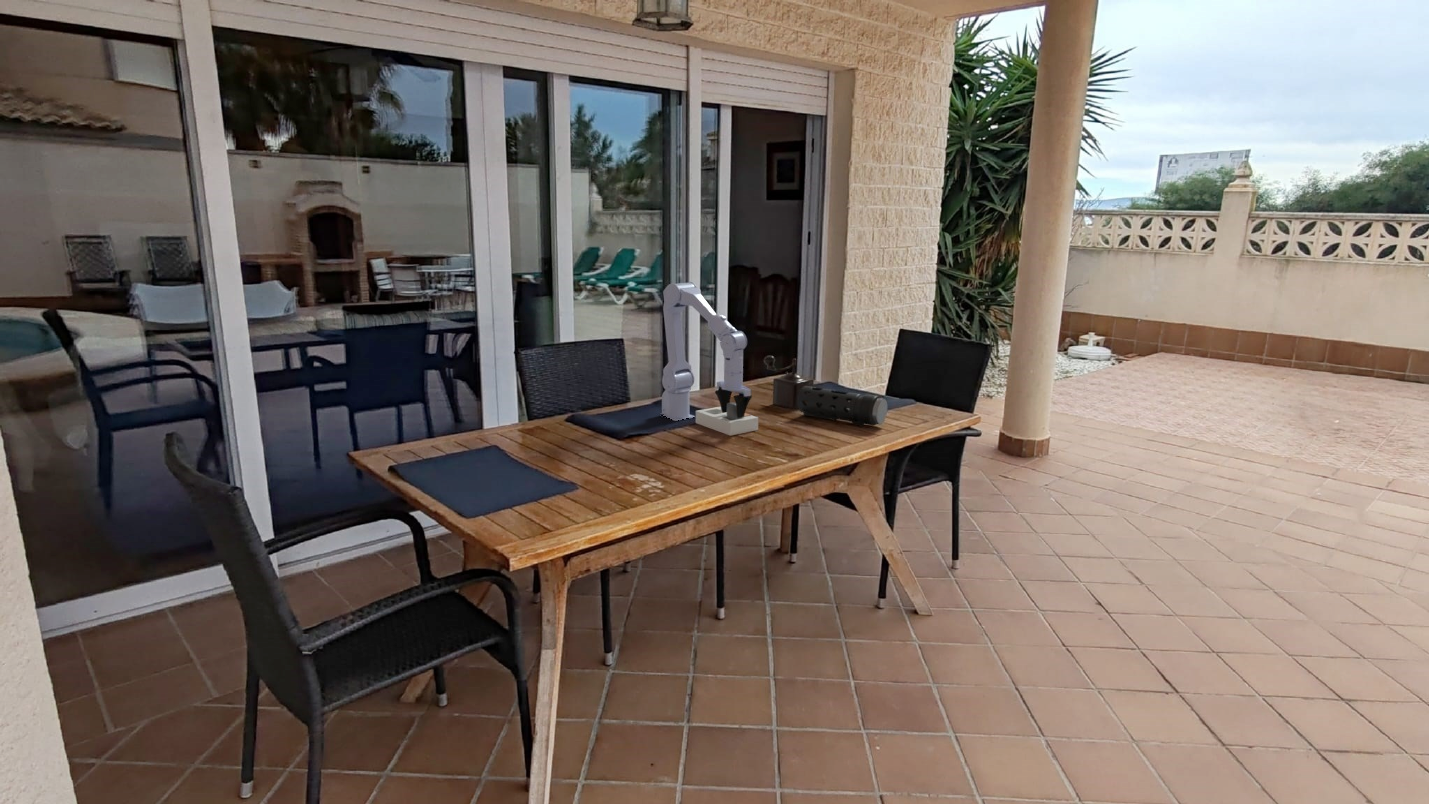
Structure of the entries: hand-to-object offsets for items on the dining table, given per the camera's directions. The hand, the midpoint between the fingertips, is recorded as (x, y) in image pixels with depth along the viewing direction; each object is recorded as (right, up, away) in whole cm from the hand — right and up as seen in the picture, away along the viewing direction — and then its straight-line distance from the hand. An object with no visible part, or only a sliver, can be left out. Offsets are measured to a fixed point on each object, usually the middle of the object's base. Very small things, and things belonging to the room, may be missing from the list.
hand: (732, 414), depth 236 cm
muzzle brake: (+35, -3, +12) cm, 38 cm away
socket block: (-2, -4, +5) cm, 7 cm away
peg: (0, -4, +1) cm, 5 cm away
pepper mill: (+20, +2, +32) cm, 38 cm away
